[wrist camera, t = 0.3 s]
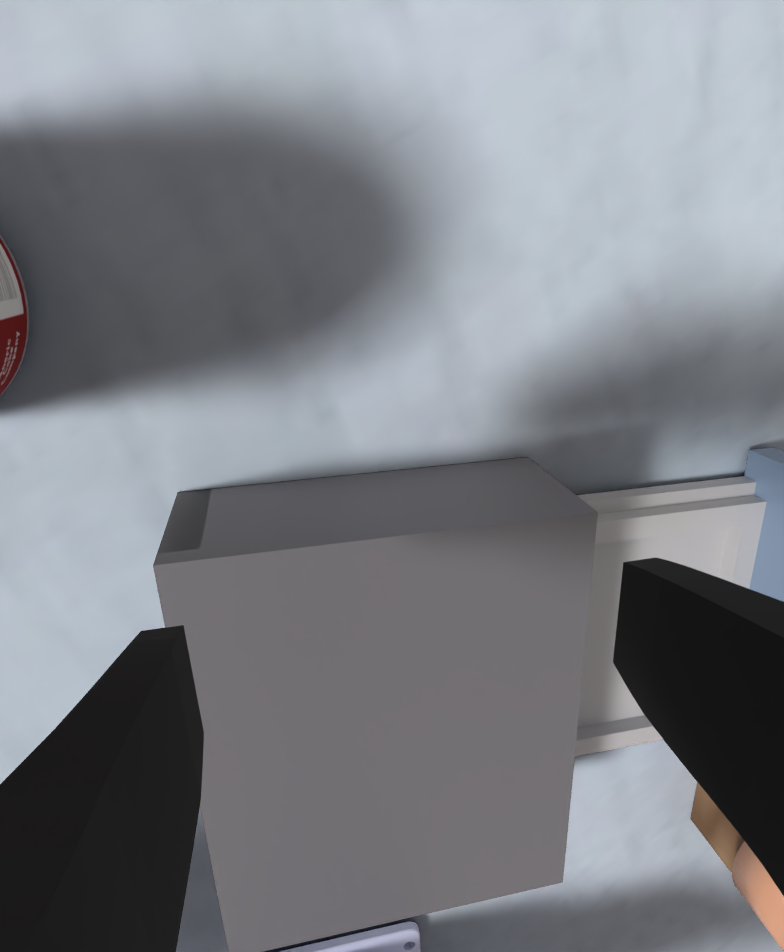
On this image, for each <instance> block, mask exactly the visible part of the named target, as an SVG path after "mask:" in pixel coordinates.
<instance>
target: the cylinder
mask: <svg viewBox="0 0 784 952" xmlns="http://www.w3.org/2000/svg"><path fill="white" fill-rule="evenodd" d="M732 879H733V882H734V885H735V887H736V888H737V889H738V891H739V892H740V893H741V895H742V896H743V897H744V899H745V900H746V901H747V903H748V904H749V905H750V907H751V908H752V909H753V911H754V912H755V913H756V915H757V916H758V917H759V919H760V920H761V922H762V923H763V924H764V926H765V927H766V928H767V930H768V931H769V932H770V934H771V935H772V936H773V938H774V939H775V940H776V942H777V943H778V944H779V946H780V947H781V948H782V950H783V951H784V896H783V895H782V893H781V892H780V890H779V889H778V887H777V886H776V884H775V883H774V881H773V880H772V878H771V877H770V875H769V874H768V872H767V871H766V869H765V868H764V866H763V865H762V864H761V862H760V861H759V860H758V858H757V857H756V856H755V854H754V853H753V851H752V850H751V849H750V847H749V846H748V845H747V843H746V842H745V841H744V843H743V844H742V845H741V847H740V849H739V850H738V852H737V854H736V857H735V859H734V862H733V866H732Z"/></svg>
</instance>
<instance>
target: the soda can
mask: <svg viewBox="0 0 784 952" xmlns="http://www.w3.org/2000/svg"><path fill="white" fill-rule="evenodd" d="M28 336H29V306H28V300H27V294H26V290H25V286H24V282H23V279H22V276H21V273H20V271H19V268H18V265H17V263H16V261H15V259H14V257H13V255H12V253H11V251H10V249H9V247H8V246H7V244H6V242H5V241H4V239H3V237H2V236H1V235H0V396H1V395H2V394H3V393H4V392H5V390H6V389H7V388H8V386H9V385H10V384H11V382H12V381H13V379H14V377H15V376H16V374H17V372H18V370H19V368H20V365H21V363H22V361H23V358H24V354H25V351H26V347H27V342H28Z"/></svg>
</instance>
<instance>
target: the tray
mask: <svg viewBox="0 0 784 952" xmlns="http://www.w3.org/2000/svg"><path fill="white" fill-rule="evenodd" d="M577 496H578V497H579V498H581V499H582V500H583V501H585V502H586V503H587V504H588V505H590V506H591V507H592V508H593V509H595V510H596V511H597V512H598V517H597V527H596V538H595V548H594V559H593V569H592V580H591V590H590V601H589V611H588V622H587V632H586V643H585V653H584V664H583V674H582V685H581V695H580V706H579V716H578V727H577V737H576V748H575V757H576V756H581V755H587V754H592V753H597V752H602V751H607V750H612V749H617V748H623V747H628V746H633V745H638V744H643V743H648V742H654V741H659V740H664V739H663V738H662V737H661V736H660V734H659V733H658V732H657V731H656V729H655V728H654V727H653V725H652V724H651V723H650V721H649V720H648V719H647V718H646V716H645V715H644V714H643V712H642V710H641V709H640V707H639V706H638V704H637V702H636V701H635V699H634V698H633V696H632V694H631V693H630V691H629V690H628V688H627V686H626V684H625V683H624V681H623V679H622V677H621V676H620V674H619V672H618V670H617V669H616V667H615V665H614V663H613V656H614V646H615V637H616V627H617V618H618V608H619V599H620V589H621V580H622V570H623V562H628V561H635V560H642V559H649V558H660V559H664V560H668V561H672V562H675V563H678V564H681V565H684V566H687V567H690V568H693V569H696V570H699V571H702V572H705V573H707V574H710V575H713V576H716V577H718V578H721V579H724V580H727V581H729V582H732V583H735V584H737V585H740V586H743V587H745V588H748V589H751V590H753V591H756V592H759V593H761V594H764V595H767V596H770V597H772V598H775V599H778V600H780V601H783V602H784V451H781V450H779V449H776V448H774V447H772V448H763V449H753V450H749V453H748V458H747V463H746V469H745V474H744V476H741V477H733V478H724V479H715V480H706V481H698V482H689V483H680V484H671V485H663V486H654V487H645V488H636V489H628V490H619V491H610V492H601V493H592V494H584V495H577Z"/></svg>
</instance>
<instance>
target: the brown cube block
mask: <svg viewBox="0 0 784 952" xmlns="http://www.w3.org/2000/svg"><path fill="white" fill-rule="evenodd" d="M691 820H692V821H693V823H694V824H695V825H696V827H697V828H698V829H699V831H700V832H701V833H702V835H703V836H704V837H705V839H706V840H707V841H708V843H709V844H710V845H711V847H712V848H713V849H714V851H715V852H716V853H717V855H718V856H719V857H720V859H721V860H722V861H723V862H724V864H725V865H726V866H727V868H728V869H729V870H730V872H731V873H732V866H733V862H734V859H735V857H736V854H737V852H738V850H739V849H740V847H741V845H742V844H743V843H744V839H743V838H742V837H741V835H740V834H739V833H738V832H737V830H736V829H735V828H734V827H733V825H732V824H731V823H730V822H729V820H728V819H727V818H726V817H725V815H724V814H723V813H722V812H721V811H720V809H719V808H718V807H717V806H716V804H715V803H714V802H713V801H712V799H711V798H710V797H709V796H708V794H707V793H706V792H705V791H704V789H703V788H702V787H701V786H700V784H699V783H698V782H697V788H696V793H695V798H694V803H693V808H692V814H691Z"/></svg>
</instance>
